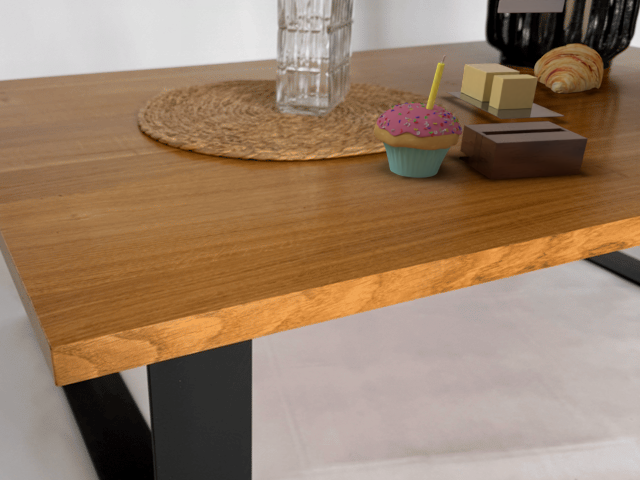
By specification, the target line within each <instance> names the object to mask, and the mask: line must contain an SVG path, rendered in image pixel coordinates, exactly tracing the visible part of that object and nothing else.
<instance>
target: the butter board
mask: <svg viewBox="0 0 640 480" xmlns="http://www.w3.org/2000/svg"><path fill="white" fill-rule="evenodd" d="M520 72H521V71H520V70H517V69H513V68H511V67H508V66H505V65H503V64H500V63H494V62H493V63H492V62H491V63H465V64H464V68H463V74H462V81H461V87H460V91H446V93H447V94H448V95H451V96H452V97H455V98H457V99H459V100H461V101H463V102H466V103H467V104H469V105H471V106H474V107H476V108H478V109H480V110H482V111H483V112H486V113H488V114H491V115H493V116H494V117H496V118H498V119H500V120H511V119H512V120H513V119H530V118H533V119H535V118H556V117H557V118H558V117H559V118H561V117H565V115H564V114H561V113H559V112H557V111H553V110H551V109H549V108H547V107H544V106H542V105H539V104H537V103H534V102H533V105H532V108H527V109H502V110H498V109H496V108H494V107H491V106H489V103H490V97H491V91H492V85H493V79H494V75H520Z"/></svg>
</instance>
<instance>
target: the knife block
mask: <svg viewBox="0 0 640 480" xmlns="http://www.w3.org/2000/svg"><path fill="white" fill-rule="evenodd" d="M588 140H589V138H588V137H585V136H583V135H580V134H579V133H576V132H574V131H572V130H569V129H567V128H565V127H563V126H560V125H558V124H556V123H554V122H551V121H549V120H545V121H525V122H502V123H479V124H464V125H463V129H462V136H461V144H460V148H459V149H460V150H459V151H460V152H461V153H462V154H464V155H465V156H459V157H458V160H460V161H461V162H463V163H465V164H466V165H468V166H469V167H470V168H472V169H474V170H475V171H477V172H478V173H480V174H482V175H483V176H484V177H486V178H488V179H489V180H501V179H502V180H503V179H504V180H505V179H520V178H521V179H522V178H535V177H536V178H537V177H551V176H570V175H580V173H581V169H582V164H583V160H584V156H585V153H586V148H587V144H588Z"/></svg>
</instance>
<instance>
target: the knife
mask: <svg viewBox="0 0 640 480" xmlns="http://www.w3.org/2000/svg"><path fill="white" fill-rule="evenodd" d="M565 1H566V0H499V1H498V7H497V14H528V13H529V14H532V13H533V14H534V13H536V14H537V13H539V14H541V13H563V11H564V7H565V6H564V5H565Z"/></svg>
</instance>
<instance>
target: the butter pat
mask: <svg viewBox="0 0 640 480" xmlns="http://www.w3.org/2000/svg"><path fill="white" fill-rule="evenodd" d="M537 84H538V78H537V77H535V75H531V74H528V73H527V74H526V73H525V74H519V75H494V79H493V85H492V91H491V97H490V103H489V106H491V107H494V108H496V109H498V110H502V109H527V108H532V105H533V103H534V99H535V94H536V91H537V90H536V89H537Z"/></svg>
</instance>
